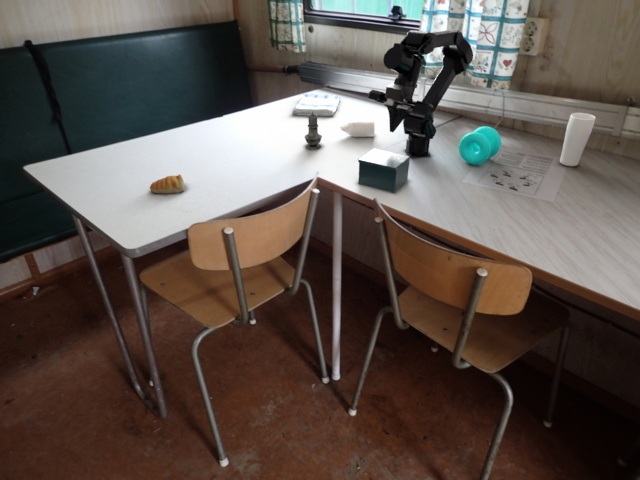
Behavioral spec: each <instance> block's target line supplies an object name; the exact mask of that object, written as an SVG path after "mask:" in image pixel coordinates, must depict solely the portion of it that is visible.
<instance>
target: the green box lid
mask: <svg viewBox="0 0 640 480" xmlns="http://www.w3.org/2000/svg"><path fill="white" fill-rule="evenodd" d="M409 159H411V156H410V155H405V154H400V153H397V152H393V151H392V152H391V151H387V150H382V149H378V148H372V149H371V150H370V151H368V152H367V153H365V154H364V155H363V156H361V157H359V158H358V160H357V161H358V163H359V162H360V163H364V164H368V165H373V166H377V167H381V168H385V169H389V170H394V171H396V170H397V169H398V168H400V167H401V166H402V165H403V164H404V163H405V162H407V161H408V160H409ZM409 161H410V160H409Z"/></svg>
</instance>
